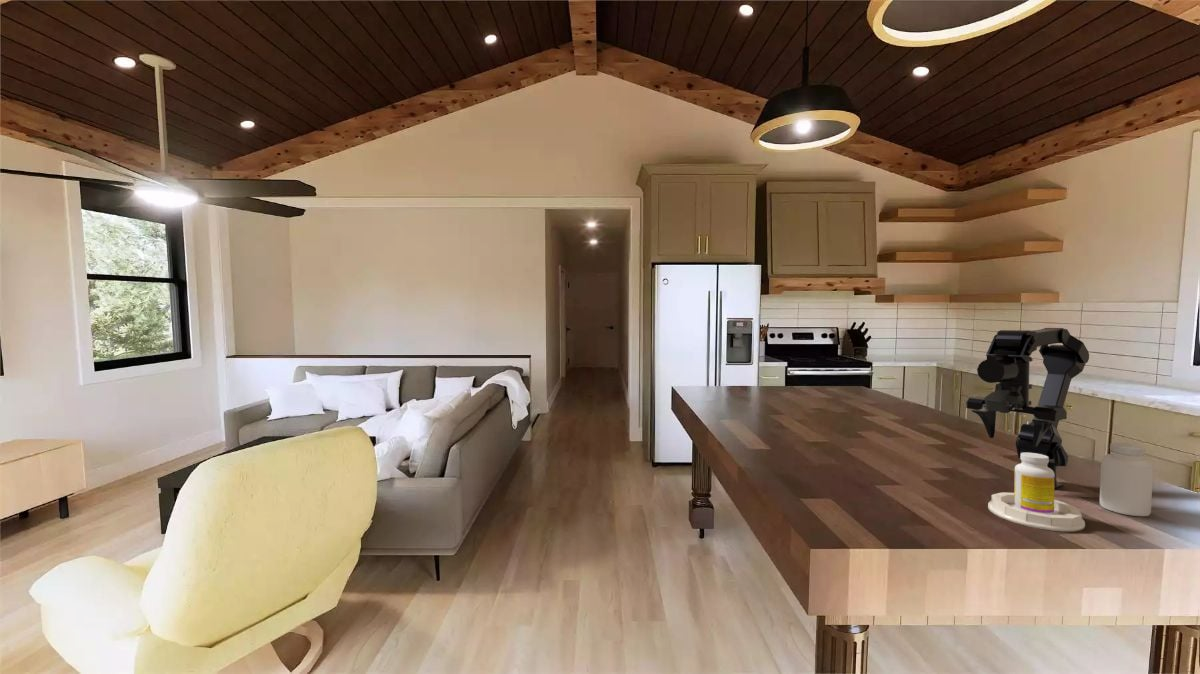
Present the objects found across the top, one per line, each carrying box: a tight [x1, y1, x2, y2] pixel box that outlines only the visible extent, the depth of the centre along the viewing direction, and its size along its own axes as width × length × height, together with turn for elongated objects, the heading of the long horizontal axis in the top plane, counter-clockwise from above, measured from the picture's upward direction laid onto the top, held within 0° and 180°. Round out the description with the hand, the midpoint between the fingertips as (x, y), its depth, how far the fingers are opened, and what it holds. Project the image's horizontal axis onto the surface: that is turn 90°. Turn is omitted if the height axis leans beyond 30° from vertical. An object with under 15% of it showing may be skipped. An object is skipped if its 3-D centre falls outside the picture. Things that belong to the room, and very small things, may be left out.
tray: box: [987, 491, 1086, 533], centre depth 107 cm, size 16×16×3 cm
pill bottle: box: [1099, 442, 1154, 517], centre depth 109 cm, size 8×8×15 cm
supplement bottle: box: [1013, 452, 1055, 515], centre depth 107 cm, size 7×7×13 cm
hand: (1012, 442), depth 120 cm, fingers open, 9 cm apart
